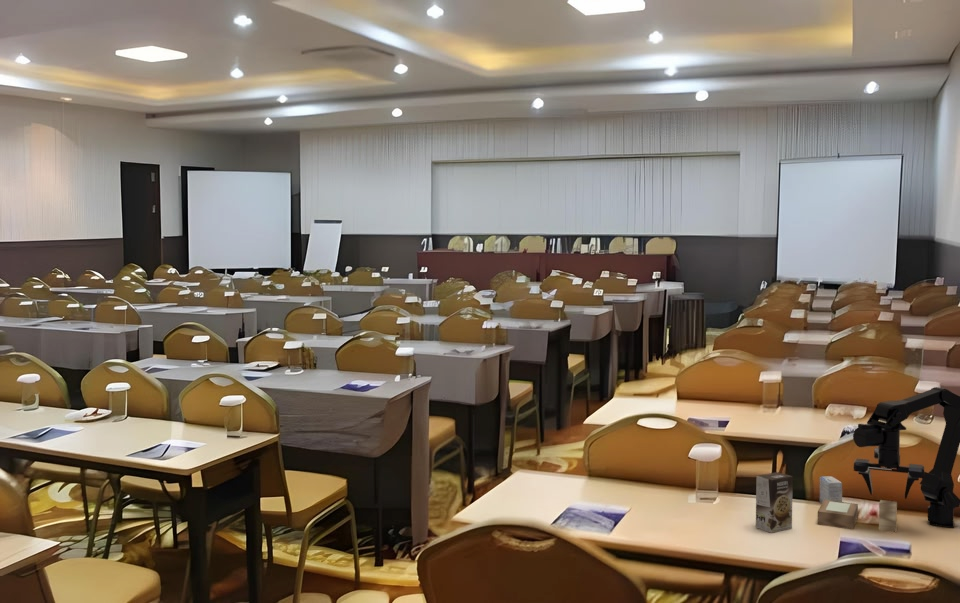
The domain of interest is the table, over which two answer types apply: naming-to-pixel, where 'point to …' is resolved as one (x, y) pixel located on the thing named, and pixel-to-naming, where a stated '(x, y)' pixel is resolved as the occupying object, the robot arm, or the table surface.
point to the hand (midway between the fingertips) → (888, 496)
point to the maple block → (887, 516)
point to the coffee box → (774, 502)
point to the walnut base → (838, 514)
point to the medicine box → (830, 489)
